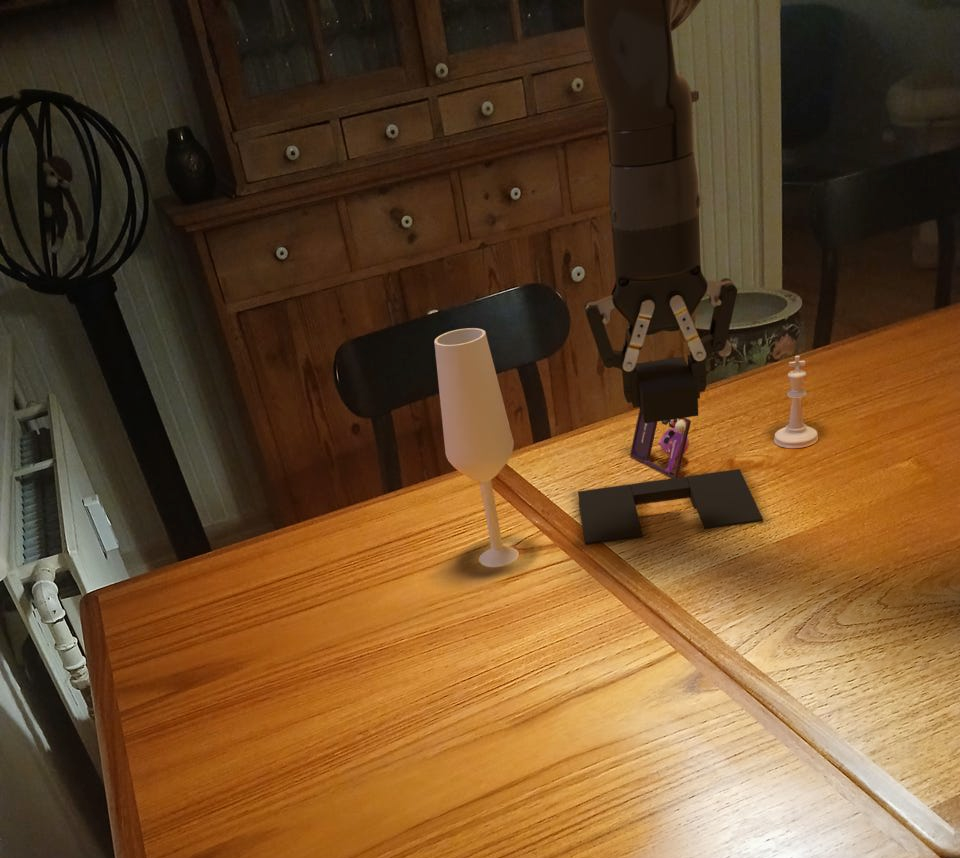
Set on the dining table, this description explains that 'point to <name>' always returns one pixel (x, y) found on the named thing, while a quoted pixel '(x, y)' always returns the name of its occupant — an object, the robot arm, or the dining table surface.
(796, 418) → the chess piece
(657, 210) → the robot arm
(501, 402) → the champagne flute
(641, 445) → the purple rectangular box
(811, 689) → the dining table surface
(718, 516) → the notched mat
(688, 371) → the small pad
